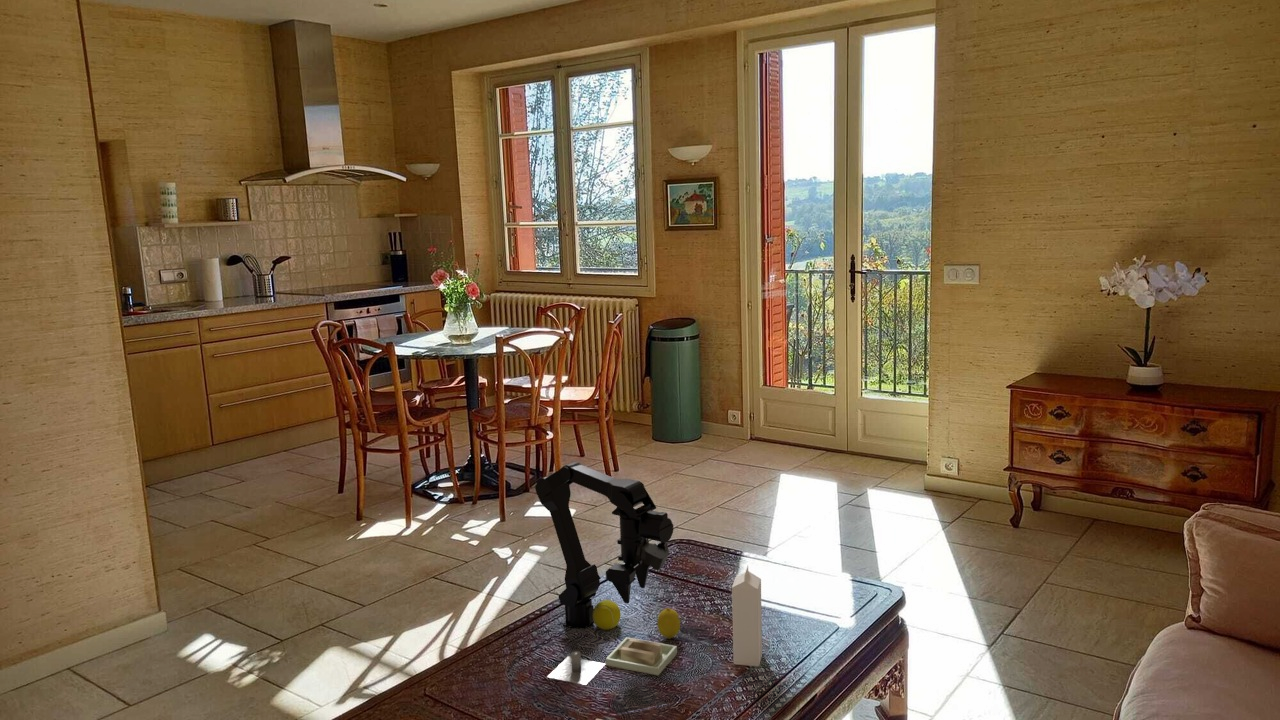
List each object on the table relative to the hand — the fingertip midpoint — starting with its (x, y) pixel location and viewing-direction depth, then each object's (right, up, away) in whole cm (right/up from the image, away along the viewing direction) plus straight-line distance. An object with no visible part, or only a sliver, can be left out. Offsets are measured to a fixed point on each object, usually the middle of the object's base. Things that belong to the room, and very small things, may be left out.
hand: (634, 595), depth 219 cm
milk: (+26, -13, -8) cm, 31 cm away
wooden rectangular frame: (+2, -13, -7) cm, 15 cm away
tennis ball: (-7, -11, +10) cm, 16 cm away
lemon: (+9, -12, +3) cm, 15 cm away
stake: (-13, -15, -11) cm, 23 cm away
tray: (+2, -13, -7) cm, 15 cm away
